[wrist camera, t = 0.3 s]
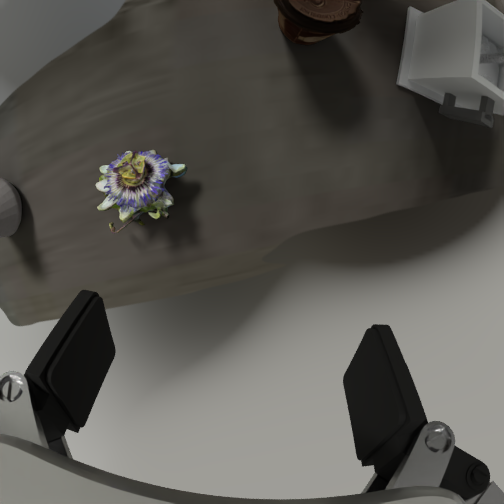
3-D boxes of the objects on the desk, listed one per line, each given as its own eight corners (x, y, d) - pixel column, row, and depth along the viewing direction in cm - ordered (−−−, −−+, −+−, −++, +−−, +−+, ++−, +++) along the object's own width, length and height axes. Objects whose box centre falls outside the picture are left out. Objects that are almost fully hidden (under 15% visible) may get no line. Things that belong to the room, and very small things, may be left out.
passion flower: (164, 149, 42) (193, 144, 32) (166, 218, 45) (195, 234, 36) (92, 155, 36) (96, 150, 27) (97, 229, 39) (104, 249, 30)
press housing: (407, 7, 25) (467, -21, 12) (476, 46, 25) (542, 43, 12) (393, 97, 32) (457, 101, 19) (463, 129, 33) (531, 151, 19)
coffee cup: (350, 25, 28) (387, -4, 16) (313, 65, 31) (338, 48, 19) (295, -13, 25) (309, -58, 14) (256, 27, 29) (253, -8, 17)
